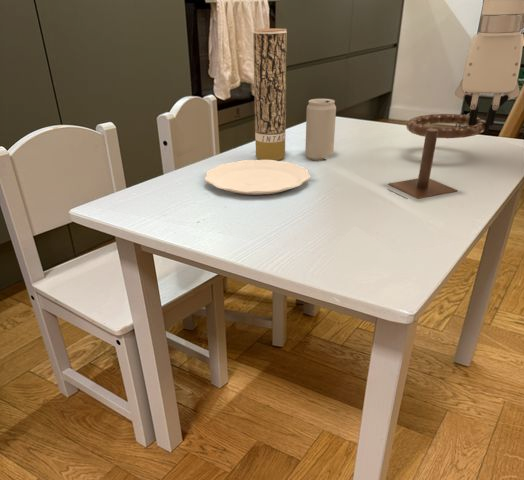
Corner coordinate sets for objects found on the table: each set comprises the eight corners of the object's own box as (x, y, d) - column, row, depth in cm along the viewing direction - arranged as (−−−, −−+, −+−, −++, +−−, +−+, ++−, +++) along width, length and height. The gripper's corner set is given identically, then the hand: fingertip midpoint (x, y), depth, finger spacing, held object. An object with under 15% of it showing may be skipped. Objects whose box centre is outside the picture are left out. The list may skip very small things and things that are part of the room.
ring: (448, 119, 116) (449, 110, 115) (501, 132, 104) (503, 121, 103) (391, 129, 111) (392, 119, 110) (440, 143, 99) (442, 132, 98)
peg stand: (424, 183, 99) (435, 122, 93) (456, 196, 93) (470, 132, 86) (387, 189, 96) (395, 127, 90) (417, 204, 90) (428, 138, 83)
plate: (239, 162, 112) (239, 155, 111) (325, 175, 104) (325, 166, 103) (185, 189, 98) (184, 181, 97) (280, 206, 89) (280, 197, 88)
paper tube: (250, 156, 116) (247, 29, 102) (276, 152, 119) (276, 28, 104) (264, 163, 112) (262, 31, 97) (290, 159, 114) (293, 29, 99)
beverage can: (329, 162, 112) (333, 103, 105) (301, 160, 113) (303, 102, 106) (335, 155, 116) (339, 98, 109) (308, 153, 118) (310, 97, 111)
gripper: (544, 23, 96) (519, 126, 106) (456, 25, 100) (440, 124, 111) (549, 26, 90) (522, 134, 101) (455, 28, 94) (439, 132, 105)
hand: (479, 128), depth 106 cm, fingers closed on ring, 2 cm apart
